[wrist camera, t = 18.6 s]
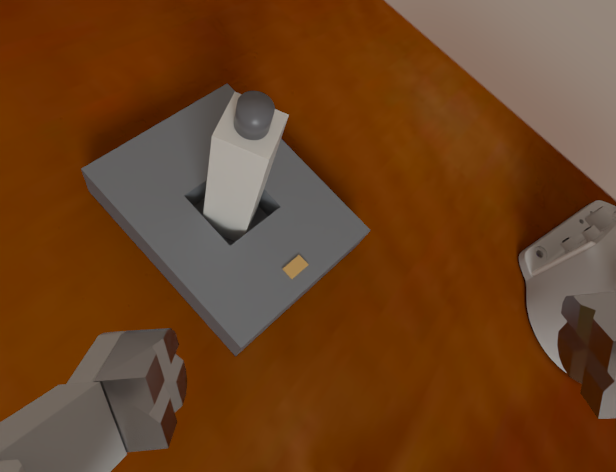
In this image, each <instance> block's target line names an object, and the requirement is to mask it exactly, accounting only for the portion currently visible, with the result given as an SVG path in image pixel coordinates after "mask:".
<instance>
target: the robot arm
mask: <svg viewBox="0 0 616 472" xmlns="http://www.w3.org/2000/svg"><path fill="white" fill-rule="evenodd" d="M536 253H537V254H538V256H539V257H538V256H537V254H536ZM519 264H520V267H521V270H522V273H523V276H524V278H525V281H526V301H527V311H528V316H529V320H530V323H531V326H532V328H533V331H534V333H535V335H536V337H537V339H538V341H539V343H540V344H541V346H542V348H543V349H544V351H545V352H546V353H547V355H548V356H549V357H550V358H551V359H552V360H553V362H554V363H555V364H556V365H557V366H559V367H560V368H561V369H562V370H563V371H564V372H566V373H567V374H568V376H569V377H571V378H572V379H574V380H576V381H578V382H580V383H581V384H582V386H581V395H582V396H583V398H584V399H585V400H586V402H587V403H588V405H589V406H590V408H591V409H592V411H593V412H594V413H595V415H596V416H597V418H598V419H606V418H616V206H614V205H612V204H609V203H607V202H604V201H601V200H597V201H595V202H592V203H590V204H588V205H587V206H585V207H584V208H583V209H581V210H580V211H578V212H577V213H575V214H574V215H573V216H571V217H570V218H568V219H567V220H566V221H564V222H563V223H561V224H560V225H558V226H557V227H556V228H554V229H553V230H551V231H550V232H548V233H547V234H546V235H544V236H543V237H541V238H540V239H539V240H537V241H536V242H534V243H533V244H531V245H530V246H529V247H527V248H526V249H524V250H523V251H522V252H521V253H520V254H519ZM178 345H179V343H178V340H177V337H176V333H175V331H173V330H172V329H171V328H167V329H150V330H134V331H126V332H125V331H119V332H108V333H103V334H100V335H99V336H98V337H97V338H96V340H95V341H94V343H93V344H92V346H91V347H90V349H89V350H88V352H87V354H86V355H85V357H84V358H83V360H82V361H81V363H80V364H79V366H78V367H77V369H76V370H75V372H74V373H73V375H72V376H71V378H70V379H69V381H68V382H67V384H63V385H58V386H56V387H55V388H53V389H52V390H50V391H49V392H47V393H45V394H44V395H42V396H41V397H39V398H38V399H36V400H35V401H33V402H31V403H30V404H28V405H27V406H25V407H24V408H22V409H21V410H19V411H17V412H16V413H14V414H13V415H11V416H10V417H8V418H7V419H5V420H4V421H2V422H0V472H111V471H112V470H113V468H114V467H115V466H116V465H117V464H118V463H119V462H120V461H121V460H122V459H123V458H124V457H125V456H126V455H127V453H126V452H133V451H143V450H154V449H164V448H169V445H170V442H171V439H172V436H173V433H174V430H175V427H176V424H177V419H176V416H175V412H176V411H177V410H178V409H179V408H180V407H181V406H182V405H183V403H184V399H185V396H186V389H187V375H186V368H185V364H184V361H183V360H182V359H181V358H179V357H178V356H177V355H176V354H175V353H176V350H177V348H178Z"/></svg>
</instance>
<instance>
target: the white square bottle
mask: <svg viewBox="0 0 616 472" xmlns="http://www.w3.org/2000/svg"><path fill="white" fill-rule="evenodd" d="M288 116H289V115H288V114H286V113H283V112H281V111H279V110H276V109H275V106H274V103H273V101H272V100H271V99H270V97H268V96H267V95H266V94H264V93H262V92H259V91H248V92H245V93H243V94H239V93H237V92H234V94H233V96H232V98H231V100H230V102H229V104H228V106H227V107H226V109H225V111H224V113H223V115H222V117H221V119H220V121H219V123H218V125H217V127H216V129H215V131H214V132H213V134H212V139H211V148H210V157H209V166H208V175H207V184H206V193H205V202H204V211H203V217H204V218H205V219H206V220H207V221H208V222H209V223H210V225H211V226H212V227H213V228H214V229H215V230H216V231H217V232H218V233H219V234H220V235H221V236H223V237H226V238H228V239H230V240H233V241H235V242H236V241H237V240H238V239H240V238H241V237H242V236H244V235H245V234H246V233H247V232H248V229H249V227H250V225H251V222H252V220H253V218H254V215H255V213H256V211H257V208H258V205H259V202H260V199H261V196H262V193H263V190H264V187H265V185H266V182H267V179H268V176H269V173H270V170H271V167H272V164H273V161H274V158H275V155H276V152H277V149H278V146H279V143H280V140H281V137H282V134H283V131H284V128H285V125H286V122H287V119H288Z"/></svg>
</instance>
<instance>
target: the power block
mask: <svg viewBox="0 0 616 472" xmlns="http://www.w3.org/2000/svg"><path fill="white" fill-rule="evenodd" d="M234 92H235V91H234V90H233V89H232V88H231V87H230V86H229V85H228V84H225V85H224V86H222V87H220V88H219V89H217V90H215V91H213V92H212V93H210V94H208V95H207V96H205V97H203V98H201V99H200V100H198V101H196V102H195V103H193V104H191V105H189V106H188V107H186V108H184V109H183V110H181V111H179V112H177V113H176V114H174V115H172V116H171V117H169V118H167V119H165V120H164V121H162V122H160V123H159V124H157V125H155V126H153V127H152V128H150V129H148V130H147V131H145V132H143V133H142V134H140V135H138V136H136V137H135V138H133V139H131V140H130V141H128V142H126V143H124V144H123V145H121V146H119V147H118V148H116V149H114V150H112V151H111V152H109V153H107V154H106V155H104V156H102V157H100V158H99V159H97V160H95V161H94V162H92V163H90V164H88V165H87V166H85V167H83V168H82V169H81V170H82V173H83V176H84V179H85V181H86V184H87V187H88V190H89V192H90V193H91V194H92V195H93V196H94V197H95V199H96V200H97V201H98V202H99V203H100V204H101V205H102V206H103V208H104V209H105V210H106V211H107V212H108V213H109V214H110V215H111V217H112V218H113V219H114V220H115V221H116V222H117V223H118V224H119V226H120V227H121V228H122V229H123V230H124V231H125V232H126V233H127V235H128V236H129V237H130V238H131V239H132V240H133V241H134V242H135V244H136V245H137V246H138V247H139V248H140V249H141V250H142V251H143V253H144V254H145V255H146V256H147V257H148V258H149V259H150V260H151V262H152V263H153V264H154V265H155V266H156V267H157V268H158V269H159V271H160V272H161V273H162V274H163V275H164V276H165V277H166V279H167V280H168V281H169V282H170V283H171V284H172V285H173V286H174V288H175V289H176V290H177V291H178V292H179V293H180V294H181V295H182V297H183V298H184V299H185V300H186V301H187V302H188V303H189V304H190V306H191V307H192V308H193V309H194V310H195V311H196V312H197V313H198V315H199V316H200V317H201V318H202V319H203V320H204V321H205V322H206V324H207V325H208V326H209V327H210V328H211V329H212V330H213V331H214V333H215V334H216V335H217V336H218V337H219V338H220V339H221V340H222V342H223V343H224V344H225V345H226V346H227V347H228V348H229V349H230V351H231V352H232V353H233V354H234V355H235V356H237V355H238V354H239V353H240V352H241V351H242V350H243V349H244V348H245V347H246V346H248V345H249V344H250V343H251V342H252V341H253V340H254V339H255V338H256V337H257V336H259V335H260V334H261V333H262V332H263V331H264V330H265V329H266V328H267V327H268V326H269V325H271V324H272V323H273V322H274V321H275V320H276V319H277V318H278V317H279V316H280V315H282V314H283V313H284V312H285V311H286V310H287V309H288V308H289V307H290V306H291V305H292V304H294V303H295V302H296V301H297V300H298V299H299V298H300V297H301V296H302V295H303V294H305V293H306V292H307V291H308V290H309V289H310V288H311V287H312V286H313V285H314V284H315V283H317V282H318V281H319V280H320V279H321V278H322V277H323V276H324V275H325V274H326V273H328V272H329V271H330V270H331V269H332V268H333V267H334V266H335V265H336V264H337V263H338V262H340V261H341V260H342V259H343V258H344V257H345V256H346V255H347V254H348V253H349V252H350V251H352V250H353V249H354V248H355V247H356V246H357V245H358V244H359V243H360V242H361V240H362V239H363V238H364V237H365V236H366V235H367V234H368V233H369V232H370V229H369V228H368V227H367V226H366V225H365V224H364V223H363V222H362V221H361V220H360V219H359V218H358V217H357V216H356V215H355V214H354V213H353V212H352V211H351V210H350V209H349V208H348V207H347V206H346V205H345V204H344V203H343V202H342V201H341V200H340V199H339V198H338V196H337V195H336V194H335V193H334V192H333V191H332V190H331V189H330V188H329V187H328V186H327V185H326V184H325V183H324V182H323V181H322V180H321V179H320V178H319V177H318V176H317V175H316V174H315V173H314V172H313V171H312V170H311V169H310V168H309V167H308V166H307V165H306V164H305V163H304V162H303V161H302V160H301V159H300V158H299V157H298V156H297V154H296V153H295V152H294V151H293V150H292V149H291V148H290V147H289V146H288V145H287V144H286V143H285V142H284V141H283V140H282V139H281V140H280V143H279V146H278V149H277V152H276V155H275V158H274V161H273V164H272V167H271V170H270V173H269V176H268V179H267V182H266V185H265V187H264V190H263V193H262V196H261V199H260V202H259V205H258V208H257V211H256V213H255V215H254V218H253V220H252V222H251V225H250V227H249V229H248V232H247V233H246V234H245V235H244V236H242V237H241V238H240V239H238V240H237V241H236V242H235V241H233V240H230V239H228V238H226V237H223V236H221V235H220V234H219V233H218V232H217V231H216V230H215V229H214V228H213V227H212V226H211V225H210V223H209V222H208V221H207V220H206V219H205V218H204V217H203V211H204V202H205V193H206V184H207V175H208V166H209V157H210V148H211V139H212V134H213V132H214V131H215V129H216V127H217V125H218V123H219V121H220V119H221V117H222V115H223V113H224V111H225V109H226V107H227V106H228V104H229V102H230V100H231V98H232V96H233V94H234Z"/></svg>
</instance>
